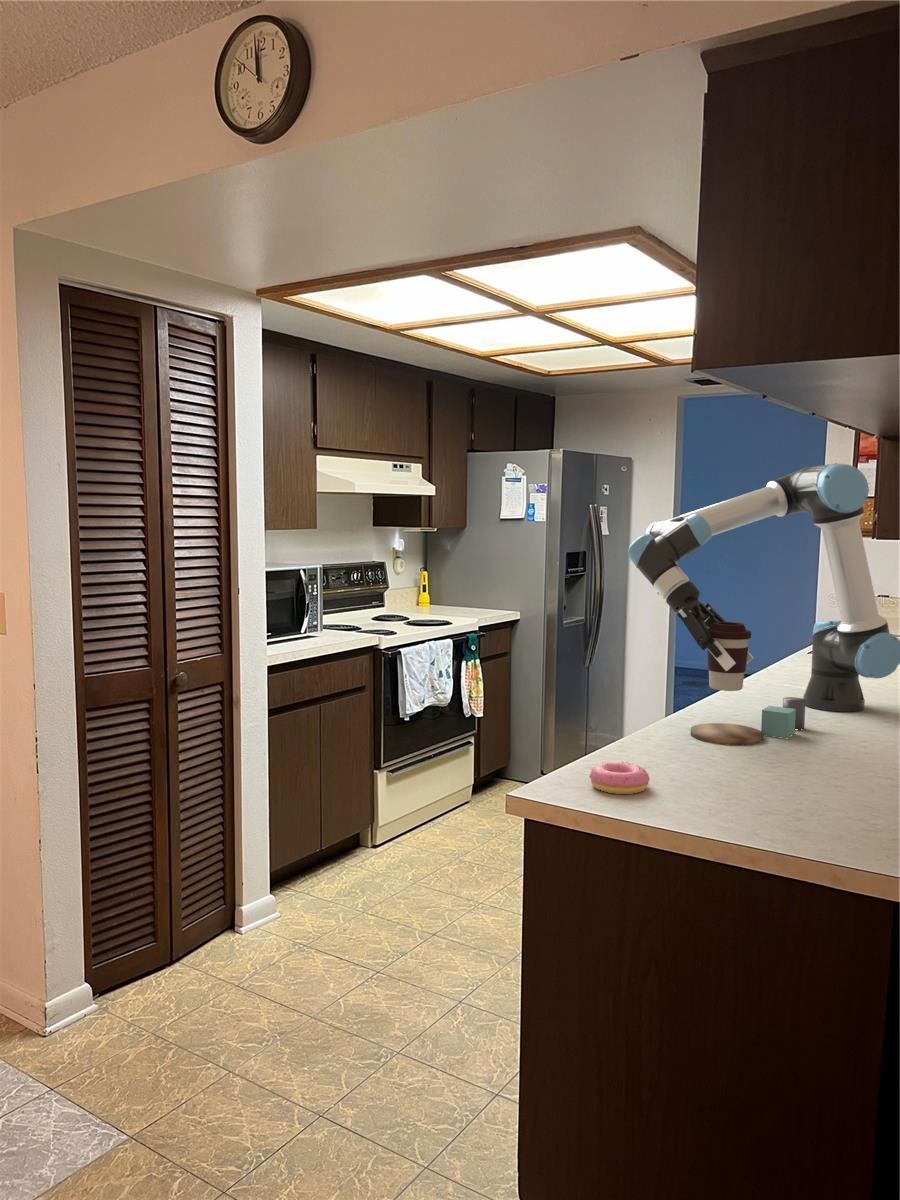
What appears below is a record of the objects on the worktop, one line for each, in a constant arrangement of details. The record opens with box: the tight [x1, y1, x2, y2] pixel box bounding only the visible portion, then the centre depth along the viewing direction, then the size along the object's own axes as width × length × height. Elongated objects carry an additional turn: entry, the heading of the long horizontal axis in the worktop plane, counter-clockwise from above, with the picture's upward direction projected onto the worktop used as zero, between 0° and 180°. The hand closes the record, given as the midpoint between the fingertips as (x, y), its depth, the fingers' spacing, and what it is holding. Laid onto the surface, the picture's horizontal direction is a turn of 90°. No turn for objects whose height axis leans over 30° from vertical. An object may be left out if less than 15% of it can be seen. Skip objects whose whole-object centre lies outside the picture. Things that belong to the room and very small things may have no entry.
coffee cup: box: [706, 621, 752, 692], centre depth 206 cm, size 10×10×15 cm
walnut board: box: [690, 722, 765, 746], centre depth 208 cm, size 16×16×1 cm
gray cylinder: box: [782, 696, 806, 731], centre depth 216 cm, size 5×5×7 cm
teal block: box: [760, 705, 796, 739], centre depth 209 cm, size 6×6×6 cm
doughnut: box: [589, 761, 650, 795], centre depth 168 cm, size 11×11×4 cm
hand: (740, 664), depth 204 cm, fingers closed on coffee cup, 10 cm apart
